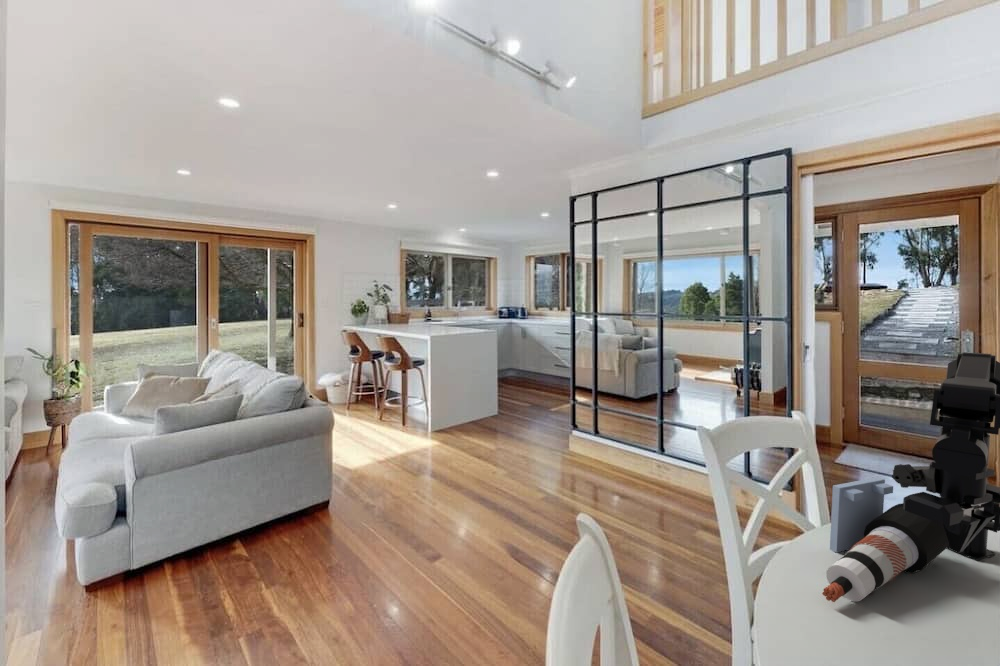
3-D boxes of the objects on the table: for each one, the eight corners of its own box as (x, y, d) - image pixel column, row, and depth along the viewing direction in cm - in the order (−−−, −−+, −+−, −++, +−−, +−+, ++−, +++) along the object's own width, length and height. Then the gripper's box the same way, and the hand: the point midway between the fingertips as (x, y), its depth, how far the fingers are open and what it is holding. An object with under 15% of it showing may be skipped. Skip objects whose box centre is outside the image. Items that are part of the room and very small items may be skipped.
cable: (815, 623, 81) (787, 563, 84) (903, 553, 97) (877, 505, 100) (876, 632, 73) (843, 565, 76) (961, 553, 88) (931, 500, 91)
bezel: (874, 538, 101) (877, 477, 100) (892, 546, 98) (896, 483, 97) (829, 549, 97) (832, 485, 96) (847, 558, 94) (850, 492, 93)
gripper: (938, 439, 85) (933, 520, 86) (870, 450, 79) (865, 537, 80) (1021, 459, 75) (1014, 550, 76) (950, 473, 69) (944, 572, 70)
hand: (956, 550), depth 76 cm, fingers closed
